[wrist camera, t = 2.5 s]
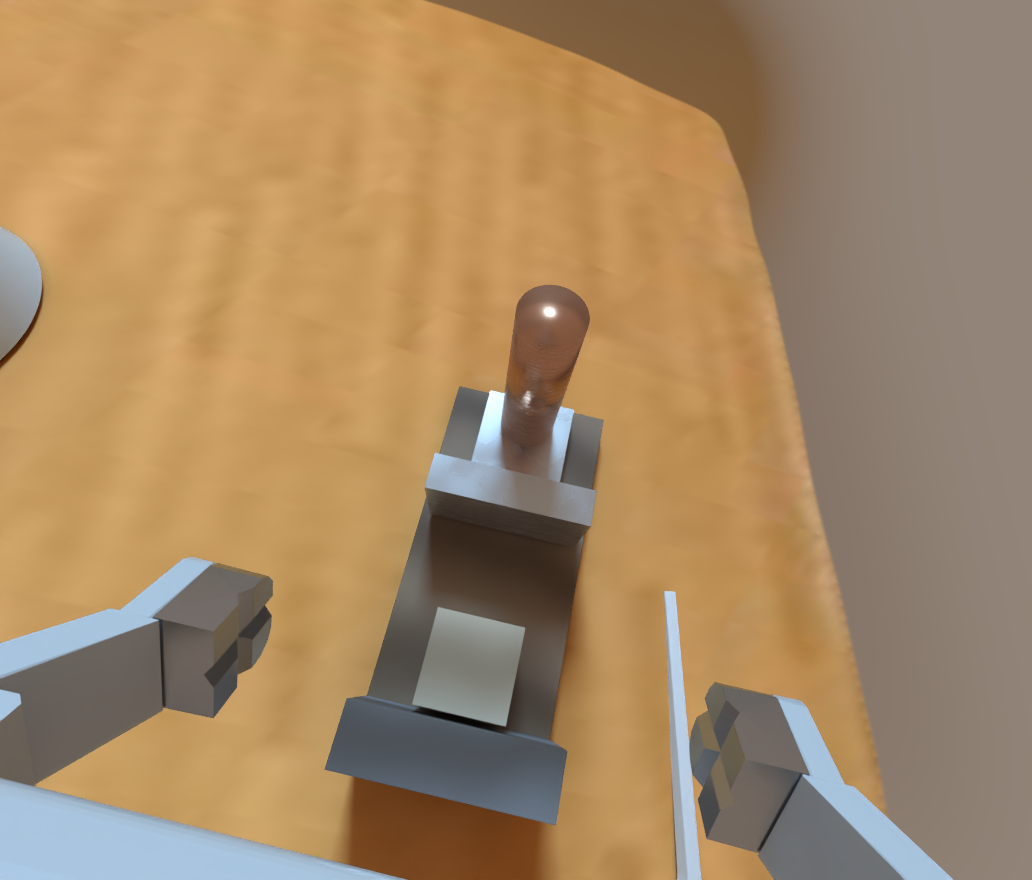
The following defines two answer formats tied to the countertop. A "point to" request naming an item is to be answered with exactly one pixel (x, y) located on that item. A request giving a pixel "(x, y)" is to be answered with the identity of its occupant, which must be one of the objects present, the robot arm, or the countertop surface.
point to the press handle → (524, 434)
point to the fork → (680, 753)
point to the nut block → (470, 666)
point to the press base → (488, 594)
